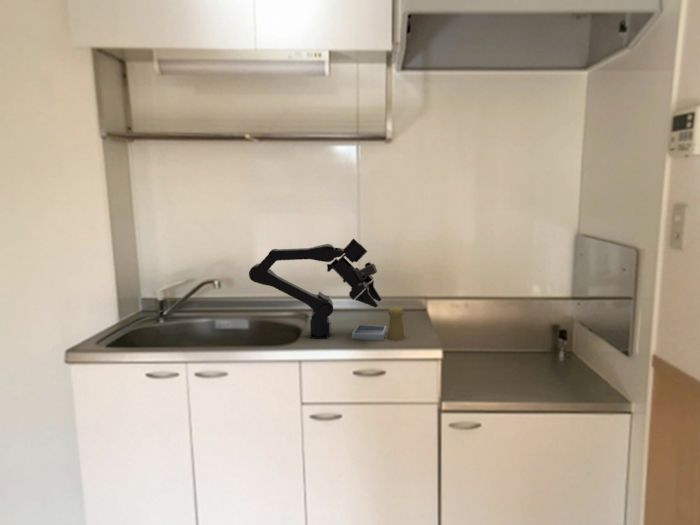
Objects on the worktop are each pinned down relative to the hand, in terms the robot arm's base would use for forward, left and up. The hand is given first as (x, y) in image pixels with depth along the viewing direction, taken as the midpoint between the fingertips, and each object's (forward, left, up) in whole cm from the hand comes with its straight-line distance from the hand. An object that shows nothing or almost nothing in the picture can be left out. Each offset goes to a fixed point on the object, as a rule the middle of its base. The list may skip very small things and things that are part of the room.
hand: (378, 303), depth 163 cm
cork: (+6, 0, -12) cm, 14 cm away
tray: (-4, +1, -12) cm, 13 cm away
